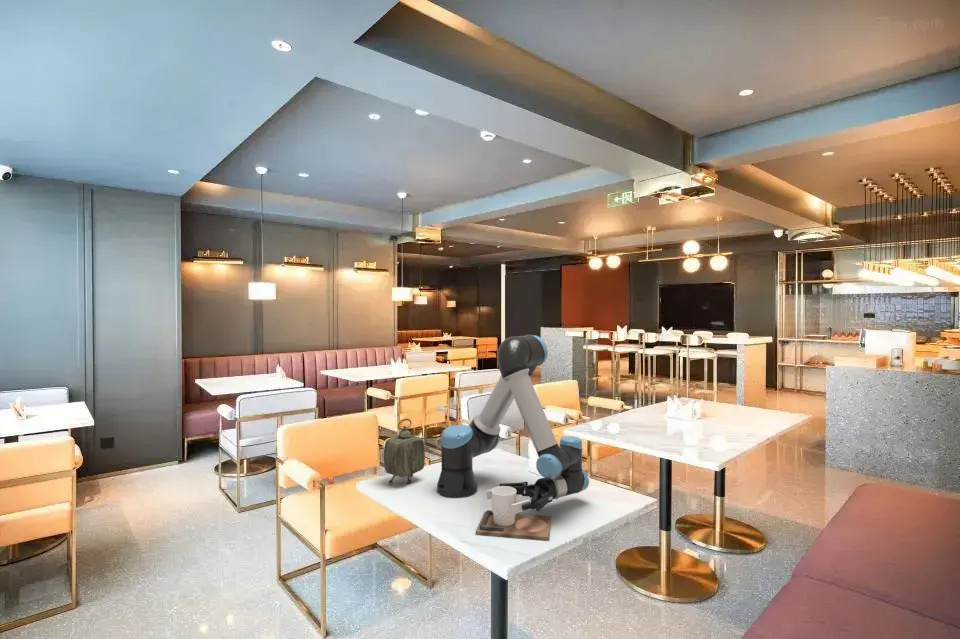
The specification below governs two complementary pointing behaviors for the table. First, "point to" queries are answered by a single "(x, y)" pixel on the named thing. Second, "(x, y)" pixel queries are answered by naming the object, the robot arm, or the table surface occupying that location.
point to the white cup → (503, 505)
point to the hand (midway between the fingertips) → (499, 502)
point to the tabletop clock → (404, 454)
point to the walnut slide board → (516, 527)
